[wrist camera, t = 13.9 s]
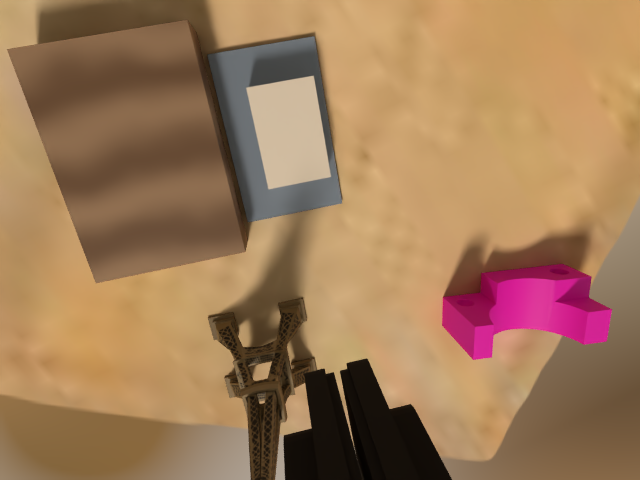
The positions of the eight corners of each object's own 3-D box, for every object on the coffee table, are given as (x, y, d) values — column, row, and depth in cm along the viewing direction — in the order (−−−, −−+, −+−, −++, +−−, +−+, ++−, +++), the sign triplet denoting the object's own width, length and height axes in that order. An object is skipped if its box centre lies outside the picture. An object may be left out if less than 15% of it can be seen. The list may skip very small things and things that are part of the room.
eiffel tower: (317, 376, 46) (369, 642, 22) (230, 396, 45) (184, 694, 21) (302, 297, 43) (344, 505, 19) (208, 316, 42) (126, 559, 18)
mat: (207, 55, 35) (207, 54, 35) (313, 37, 36) (314, 36, 35) (248, 221, 39) (247, 222, 39) (341, 202, 40) (342, 203, 40)
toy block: (561, 263, 46) (615, 287, 39) (556, 310, 48) (606, 341, 40) (442, 276, 44) (476, 304, 37) (441, 324, 46) (473, 359, 39)
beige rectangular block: (313, 75, 33) (310, 80, 36) (246, 87, 33) (248, 91, 36) (331, 176, 36) (326, 173, 39) (268, 189, 35) (268, 185, 38)
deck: (37, 59, 33) (7, 49, 30) (196, 32, 34) (187, 19, 30) (113, 268, 39) (95, 283, 35) (247, 240, 40) (245, 251, 36)
